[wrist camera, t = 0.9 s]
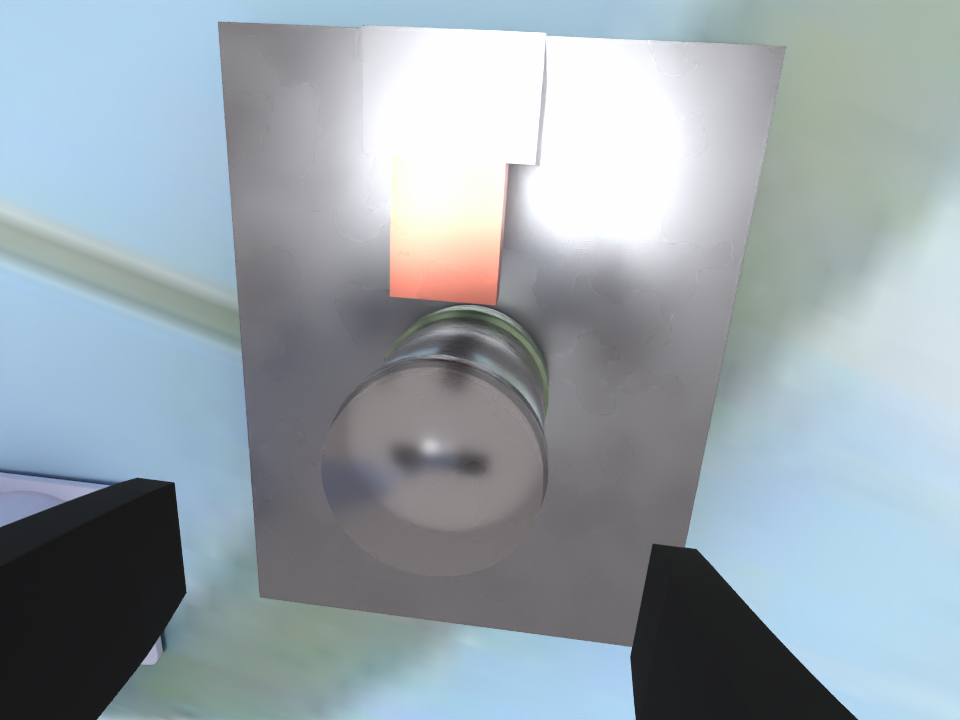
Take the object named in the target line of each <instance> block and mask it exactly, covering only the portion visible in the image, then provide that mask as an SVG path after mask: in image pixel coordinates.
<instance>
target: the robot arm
mask: <svg viewBox="0 0 960 720" xmlns="http://www.w3.org/2000/svg"><path fill="white" fill-rule="evenodd" d="M185 594H186V584H185V575H184V566H183V556H182V547H181V538H180V529H179V519H178V510H177V501H176V492H175V483H174V482H166V481H158V480H150V479H142V478H135V479H131V480H128V481H124V482H121V483H118V484H115V485H103V484H94V483H86V482H77V481H69V480H60V479H52V478H43V477H35V476H26V475H18V474H10V473H1V472H0V720H97V719H98V717H99V716H100V715H101V714H102V712H103V711H104V710H105V709H106V707H107V706H108V705H109V704H110V702H111V701H112V700H113V699H114V697H115V696H116V695H117V694H118V692H119V691H120V690H121V689H122V687H123V686H124V685H125V684H126V682H127V681H128V680H129V678H130V677H131V676H132V675H133V673H134V672H135V671H136V670H137V668H138V667H139V666H140V664H144V665H153V664H155V663H156V662H157V661H158V660H159V658H160V657H161V656H162V653H163V650H162V643H161V636H160V635H161V634H162V632H163V631H164V629H165V628H166V626H167V624H168V623H169V621H170V619H171V618H172V616H173V614H174V613H175V611H176V609H177V608H178V606H179V604H180V603H181V601H182V599H183V598H184V596H185ZM630 658H631V670H632V682H633V695H634V705H635V715H636V720H858V719H857V718H856V717H855V716H854V715H853V714H852V713H851V712H850V711H849V710H848V709H846V708H845V707H844V706H843V705H842V704H841V703H840V702H839V701H838V700H837V699H836V698H835V697H834V696H833V695H832V694H831V693H830V692H829V691H828V690H827V689H826V688H825V687H824V686H823V685H822V684H821V683H820V682H819V681H818V680H817V679H816V678H815V677H814V676H813V675H812V674H811V673H810V672H809V671H808V670H807V668H806V667H805V666H804V665H803V664H802V663H801V662H800V661H799V660H798V659H797V658H796V657H795V656H794V655H793V654H792V653H791V652H790V651H789V650H788V649H787V648H786V646H785V645H784V644H783V643H782V642H781V641H780V640H779V639H778V638H777V637H776V636H775V635H774V634H773V633H772V632H771V630H770V629H769V628H768V627H767V626H766V625H765V624H764V623H763V622H762V621H761V620H760V619H759V617H758V616H757V615H756V614H755V613H754V612H753V611H752V610H751V609H750V608H749V606H748V605H747V604H746V603H745V602H744V601H743V600H742V599H741V598H740V596H739V595H738V594H737V593H736V592H735V591H734V590H733V589H732V588H731V586H730V585H729V584H728V583H727V582H726V581H725V580H724V579H723V577H722V576H721V575H720V574H719V573H718V572H717V571H716V570H715V569H714V567H713V566H712V565H711V564H710V563H709V562H708V561H707V560H706V559H705V558H704V557H703V556H702V555H701V553H700V552H699V551H698V550H697V549H691V548H684V547H676V546H668V545H660V544H652V549H651V554H650V559H649V564H648V569H647V574H646V579H645V584H644V590H643V595H642V600H641V605H640V610H639V615H638V620H637V625H636V631H635V636H634V641H633V646H632V651H631V656H630Z"/></svg>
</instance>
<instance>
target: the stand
mask: <svg viewBox="0 0 960 720" xmlns="http://www.w3.org/2000/svg"><path fill="white" fill-rule="evenodd" d="M218 29H219V43H220V57H221V71H222V84H223V98H224V112H225V125H226V139H227V153H228V166H229V180H230V194H231V208H232V221H233V235H234V249H235V262H236V276H237V290H238V304H239V317H240V331H241V345H242V358H243V372H244V386H245V399H246V413H247V427H248V441H249V454H250V468H251V482H252V495H253V509H254V523H255V536H256V550H257V564H258V578H259V591H260V597H261V598H269V599H276V600H284V601H291V602H299V603H306V604H314V605H321V606H329V607H336V608H344V609H351V610H359V611H366V612H374V613H382V614H389V615H397V616H404V617H412V618H419V619H427V620H434V621H442V622H449V623H457V624H464V625H472V626H479V627H487V628H494V629H502V630H509V631H517V632H525V633H532V634H540V635H547V636H555V637H562V638H570V639H577V640H585V641H592V642H600V643H607V644H615V645H622V646H630V647H632V646H633V641H634V636H635V631H636V625H637V620H638V615H639V610H640V605H641V600H642V595H643V590H644V584H645V579H646V574H647V569H648V564H649V559H650V554H651V549H652V544H660V545H668V546H676V547H684V548H685V544H686V539H687V534H688V529H689V524H690V519H691V514H692V509H693V505H694V500H695V495H696V490H697V485H698V480H699V475H700V470H701V465H702V460H703V455H704V450H705V445H706V440H707V435H708V430H709V425H710V420H711V415H712V411H713V406H714V401H715V396H716V391H717V386H718V381H719V376H720V371H721V366H722V361H723V356H724V351H725V346H726V341H727V336H728V331H729V326H730V322H731V317H732V312H733V307H734V302H735V297H736V292H737V287H738V282H739V277H740V272H741V267H742V262H743V257H744V252H745V247H746V242H747V237H748V232H749V228H750V223H751V218H752V213H753V208H754V203H755V198H756V193H757V188H758V183H759V178H760V173H761V168H762V163H763V158H764V153H765V148H766V143H767V139H768V134H769V129H770V124H771V119H772V114H773V109H774V104H775V99H776V94H777V89H778V84H779V79H780V74H781V69H782V64H783V59H784V54H785V50H786V46H768V45H744V44H721V43H698V42H675V41H652V40H629V39H606V38H583V37H560V36H546V33H537V32H514V31H490V30H467V29H444V28H420V27H397V26H374V25H363V28H352V27H329V26H306V25H283V24H260V23H237V22H218ZM458 305H476V306H483V307H487V308H491V309H494V310H496V311H499V312H501V313H503V314H505V315H507V316H508V317H510V318H512V319H513V320H514V321H516V322H517V323H518V324H520V325H521V326H522V327H523V328H524V329H525V330H526V331H527V332H528V334H529V335H530V336H531V338H532V339H533V340H534V342H535V344H536V345H537V347H538V349H539V351H540V352H541V354H542V357H543V359H544V362H545V365H546V369H547V373H548V382H549V398H548V409H547V415H546V418H545V421H544V434H545V438H546V442H547V448H548V484H547V489H546V494H545V497H544V500H543V503H542V506H541V508H540V510H539V513H538V516H537V519H536V521H535V523H534V525H533V527H532V529H531V531H530V533H529V534H528V535H527V537H526V538H525V539H524V541H523V542H522V543H521V544H520V545H519V546H518V547H517V548H516V549H515V550H514V551H513V552H512V553H511V554H509V555H508V556H507V557H505V558H504V559H503V560H501V561H499V562H498V563H496V564H494V565H492V566H490V567H488V568H485V569H483V570H480V571H477V572H474V573H470V574H466V575H460V576H452V577H434V576H424V575H418V574H413V573H410V572H406V571H403V570H399V569H397V568H395V567H392V566H390V565H387V564H386V563H384V562H382V561H380V560H378V559H376V558H375V557H373V556H372V555H370V554H369V553H368V552H366V551H365V550H363V549H362V548H361V547H360V546H359V545H358V544H356V543H355V542H354V541H353V540H352V539H351V538H350V537H349V535H348V534H347V533H346V532H345V531H344V530H343V528H342V527H341V525H340V524H339V523H338V521H337V520H336V518H335V516H334V514H333V512H332V511H331V509H330V506H329V504H328V501H327V499H326V496H325V492H324V488H323V484H322V475H321V460H322V453H323V448H324V444H325V441H326V438H327V435H328V433H329V431H330V428H331V425H332V422H333V419H334V417H335V415H336V414H337V412H338V410H339V408H340V406H341V405H342V404H343V402H344V401H345V400H346V398H347V397H348V396H349V395H350V394H351V392H352V391H353V390H354V389H355V388H356V387H357V386H358V385H359V384H360V383H361V382H362V381H363V380H364V379H365V378H366V377H368V376H369V375H370V374H372V373H373V372H374V371H376V370H378V368H379V367H380V366H381V365H382V364H383V363H384V361H385V360H386V357H387V356H388V354H389V352H390V350H391V348H392V347H393V346H394V344H395V343H396V342H397V340H398V339H399V338H400V337H401V336H402V335H403V334H404V332H405V331H406V330H407V329H408V328H409V327H410V326H411V325H413V324H414V323H415V322H417V321H418V320H419V319H421V318H423V317H424V316H426V315H428V314H430V313H432V312H435V311H438V310H441V309H444V308H448V307H452V306H458Z"/></svg>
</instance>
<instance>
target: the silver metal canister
mask: <svg viewBox="0 0 960 720" xmlns="http://www.w3.org/2000/svg"><path fill="white" fill-rule="evenodd" d="M548 398H549V382H548V373H547V369H546V365H545V362H544V359H543V357H542V354H541V352H540V351H539V349H538V347H537V345H536V344H535V342H534V340H533V339H532V338H531V336H530V335H529V334H528V332H527V331H526V330H525V329H524V328H523V327H522V326H521V325H520V324H518V323H517V322H516V321H514V320H513V319H512V318H510V317H508V316H507V315H505V314H503V313H501V312H499V311H496V310H494V309H491V308H487V307H483V306H476V305H458V306H452V307H448V308H444V309H441V310H438V311H435V312H432V313H430V314H428V315H426V316H424V317H423V318H421V319H419V320H418V321H417V322H415V323H414V324H413V325H411V326H410V327H409V328H408V329H407V330H406V331H405V332H404V334H403V335H402V336H401V337H400V338H399V339H398V340H397V342H396V343H395V344H394V346H393V347H392V348H391V350H390V352H389V354H388V356H387V357H386V360H385V361H384V363H383V364H382V365H381V366H380V367H379V368H378V370H376V371H374V372H373V373H372V374H370V375H369V376H368V377H366V378H365V379H364V380H363V381H362V382H361V383H360V384H359V385H358V386H357V387H356V388H355V389H354V390H353V391H352V392H351V394H350V395H349V396H348V397H347V398H346V400H345V401H344V402H343V404H342V405H341V406H340V408H339V410H338V412H337V414H336V415H335V417H334V419H333V422H332V425H331V428H330V431H329V433H328V435H327V438H326V441H325V444H324V448H323V453H322V460H321V475H322V484H323V488H324V492H325V496H326V499H327V501H328V504H329V506H330V509H331V511H332V512H333V514H334V516H335V518H336V520H337V521H338V523H339V524H340V525H341V527H342V528H343V530H344V531H345V532H346V533H347V534H348V535H349V537H350V538H351V539H352V540H353V541H354V542H355V543H356V544H358V545H359V546H360V547H361V548H362V549H363V550H365V551H366V552H368V553H369V554H370V555H372V556H373V557H375V558H376V559H378V560H380V561H382V562H384V563H386V564H387V565H390V566H392V567H395V568H397V569H399V570H403V571H406V572H410V573H413V574H418V575H424V576H434V577H452V576H460V575H466V574H470V573H474V572H477V571H480V570H483V569H485V568H488V567H490V566H492V565H494V564H496V563H498V562H499V561H501V560H503V559H504V558H505V557H507V556H508V555H509V554H511V553H512V552H513V551H514V550H515V549H516V548H517V547H518V546H519V545H520V544H521V543H522V542H523V541H524V539H525V538H526V537H527V535H528V534H529V533H530V531H531V529H532V527H533V525H534V523H535V521H536V519H537V516H538V513H539V510H540V508H541V506H542V503H543V500H544V497H545V494H546V489H547V484H548V448H547V442H546V438H545V434H544V421H545V418H546V415H547V409H548Z"/></svg>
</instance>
